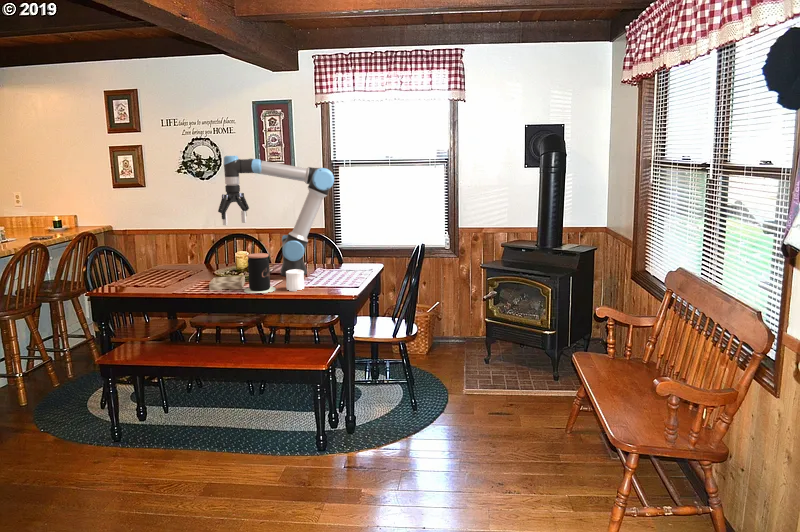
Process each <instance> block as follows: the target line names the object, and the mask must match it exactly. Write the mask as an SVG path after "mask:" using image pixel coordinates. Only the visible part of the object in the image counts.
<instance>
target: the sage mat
mask: <svg viewBox="0 0 800 532" xmlns="http://www.w3.org/2000/svg"><path fill="white" fill-rule="evenodd" d="M276 290H277V288H276V287H275V286H270V288H269V290H265V291H251V289H250V288H249V287H247V288H244V289H243V292H244V293H245V292H246V293H245V294H249V293H264V294H269V293H268V292H270V293H273V291H274V292H276Z"/></svg>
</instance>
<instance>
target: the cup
mask: <svg viewBox="0 0 800 532" xmlns="http://www.w3.org/2000/svg"><path fill="white" fill-rule="evenodd" d="M285 277H286V279H285V283H286V285H285V287H286V291H287V290H289V291H288V292H298V291H297V290H302V289H304V290H305V275H304V271H303V270H299V269H294V270H288V271H286V276H285ZM302 291H303V290H302Z"/></svg>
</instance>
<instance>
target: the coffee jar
mask: <svg viewBox="0 0 800 532" xmlns="http://www.w3.org/2000/svg"><path fill="white" fill-rule="evenodd" d="M246 256H247V258H248V259H247V272H248V288H250V289H251V291H265V290H269V288H270V287H271V272H270V259H269V256H270V255H269V253H263V252H258V253H257V252H256V253H250V254H247V255H246Z"/></svg>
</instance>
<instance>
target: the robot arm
mask: <svg viewBox="0 0 800 532" xmlns="http://www.w3.org/2000/svg"><path fill="white" fill-rule="evenodd" d="M223 169H224V171H223V172H224V183H225V187H224V188H225V193H226V194H223V193H222V195H221V200H220V203H219V206H218V210H217V212H218V213H220V214H221V220H222V226H227V227H228V213H227V211H228V209H229V207H230V205H231V204H233V203H236V204H237V205H238V206H239V208H240V209H241V210H240V211H241V212H240V216H241V224H242V223H243V224H246V223H247V211H249V209H250V206H249V204H248V202H247V200H246V197H245V194H244V193H243V192H240V191H241V188H240V184H241V183H240V174H258V175H265V176H269V177H270V176H271V177H276V178H280V179H281V178H282V179H288V180H293V181H298V182H304V183H305V184H306V185H308V186H307V190H308V193H307V196H306V198H305V200H304V203H303V205H302V207H301V210H300V212H299V214H298V216H297V220H296V222H295V224H294V227H293V229H292V231H290V232H289V233H288V234H284V235H282V237H281V242H282V244H281V245H282V246H281V247H282V249H281V251H282V252H281V253H282V265H281V267H280V276H283V277H286V271H288V270H294V269H299V270H303V271H304V276H305V275H307V274H308V269H307V267H306V264H305V261H304V255H305V250H306V248H307V245H308V243H309V239H308V236H309V233H310V230H311V228H312V226H313V224H314V221H315V219H316V217H317V214H318V211H319V209H320V207H321V205H322V202H323V200H324V198H326V197H327V196H328V195H329V193H330V191H331V188H333V185H334V183H335V176H334V174H333V172H332V171H331V170H330V169H329V168H326V167H311V166H308V167H300V166H295V165H289V164H283V163H277V162H271V161H265V160H261V159H259V158H250V157H249V158H244V159H243V158H242V159H241V158H239V156H238V155H226V156H224V157H223Z"/></svg>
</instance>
